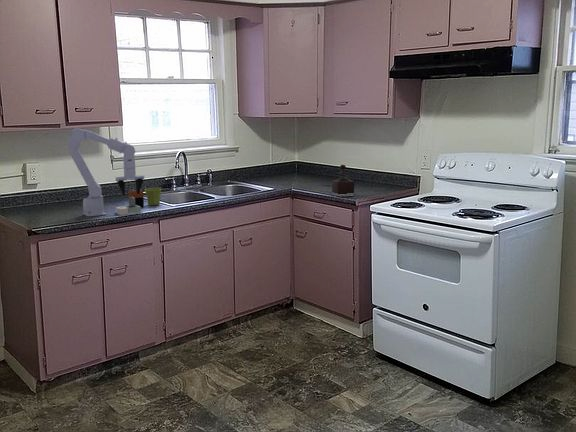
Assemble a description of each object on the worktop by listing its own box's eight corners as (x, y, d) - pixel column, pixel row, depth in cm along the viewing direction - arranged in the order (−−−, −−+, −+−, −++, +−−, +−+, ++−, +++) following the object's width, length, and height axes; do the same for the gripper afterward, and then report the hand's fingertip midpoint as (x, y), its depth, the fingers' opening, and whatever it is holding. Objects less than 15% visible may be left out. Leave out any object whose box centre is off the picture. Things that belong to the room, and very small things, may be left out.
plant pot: (149, 202, 330) (148, 187, 328) (165, 203, 328) (164, 188, 326) (142, 205, 321) (141, 190, 319) (158, 206, 319) (157, 190, 317)
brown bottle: (355, 196, 352) (356, 166, 348) (339, 197, 348) (339, 167, 344) (343, 192, 366) (344, 164, 362) (327, 193, 362) (328, 164, 358)
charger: (120, 215, 295) (120, 208, 294) (115, 212, 301) (114, 206, 301) (142, 212, 301) (142, 206, 300) (136, 210, 308) (136, 204, 307)
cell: (130, 212, 300) (129, 197, 298) (128, 211, 303) (127, 196, 301) (136, 211, 302) (135, 197, 300) (134, 210, 304) (133, 196, 303)
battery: (129, 207, 316) (128, 189, 314) (142, 206, 319) (141, 188, 317) (131, 208, 312) (130, 190, 310) (144, 207, 316) (143, 189, 314)
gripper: (118, 169, 291) (119, 196, 293) (146, 167, 299) (147, 194, 302) (113, 168, 296) (115, 194, 299) (141, 166, 305) (142, 192, 307)
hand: (130, 194), depth 301 cm, fingers open, 7 cm apart
